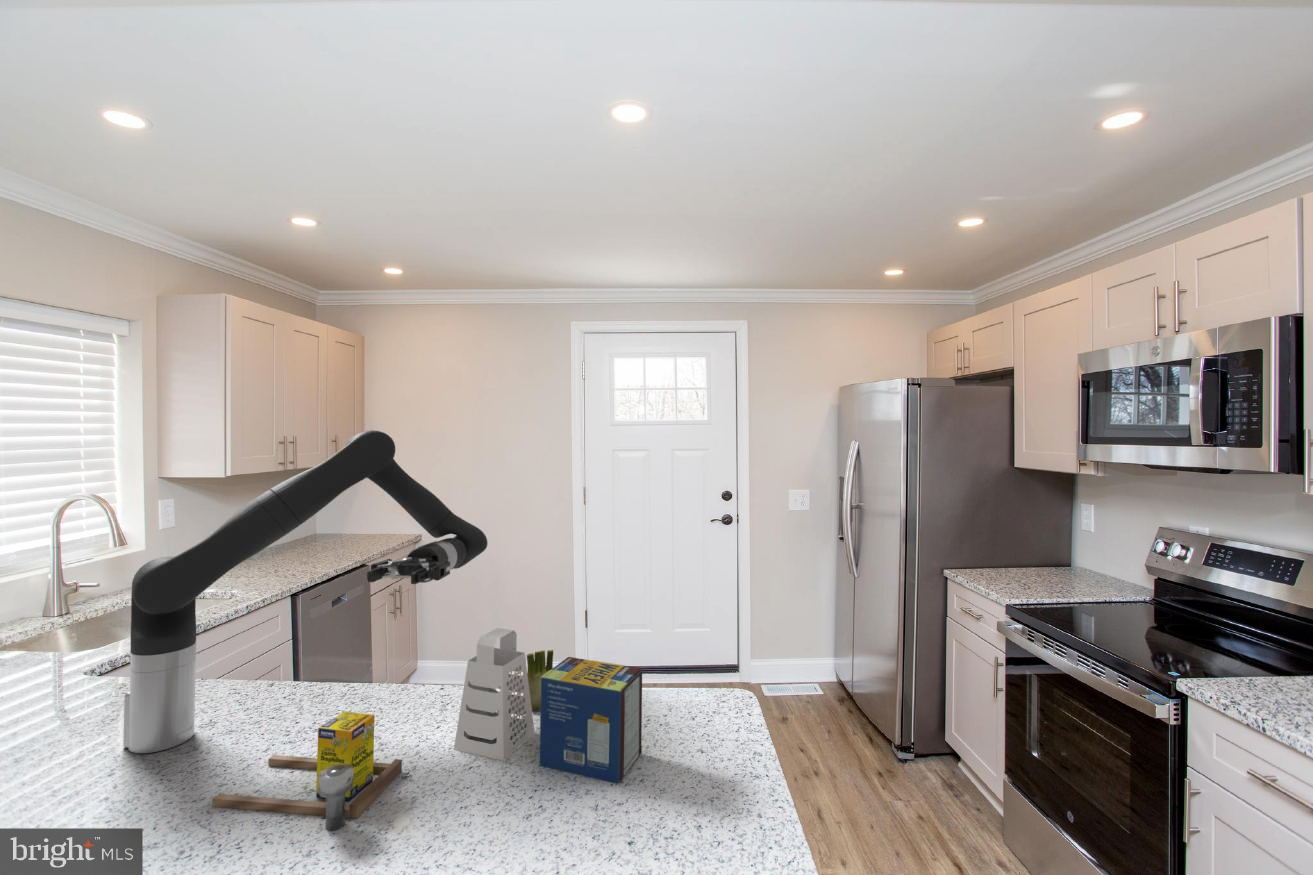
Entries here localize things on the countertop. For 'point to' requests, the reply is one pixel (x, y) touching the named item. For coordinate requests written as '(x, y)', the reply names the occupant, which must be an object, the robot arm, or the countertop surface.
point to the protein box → (591, 718)
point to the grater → (495, 698)
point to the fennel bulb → (537, 674)
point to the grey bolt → (335, 793)
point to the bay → (313, 803)
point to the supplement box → (348, 748)
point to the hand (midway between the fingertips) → (391, 577)
